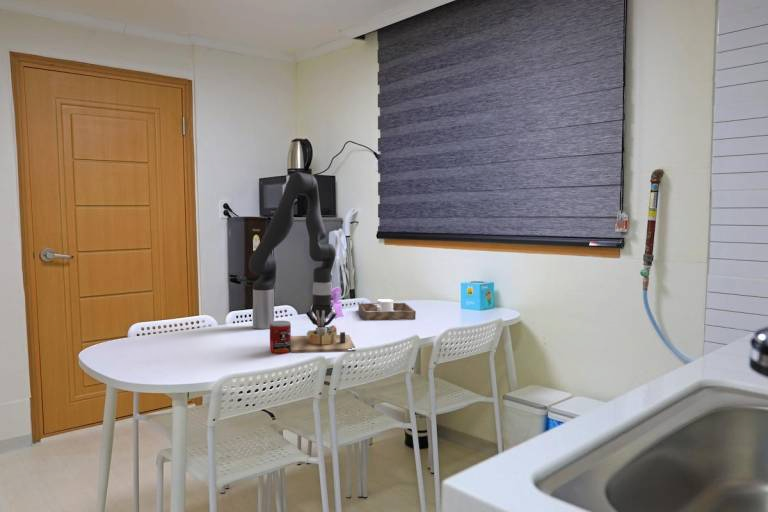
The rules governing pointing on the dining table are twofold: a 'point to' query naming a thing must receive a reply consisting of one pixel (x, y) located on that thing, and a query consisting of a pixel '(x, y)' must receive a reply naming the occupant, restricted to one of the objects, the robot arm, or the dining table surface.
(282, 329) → the canned food
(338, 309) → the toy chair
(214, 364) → the dining table surface
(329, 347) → the jig board
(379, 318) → the walnut frame
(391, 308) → the tree stump
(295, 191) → the robot arm
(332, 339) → the gold ring with lever
